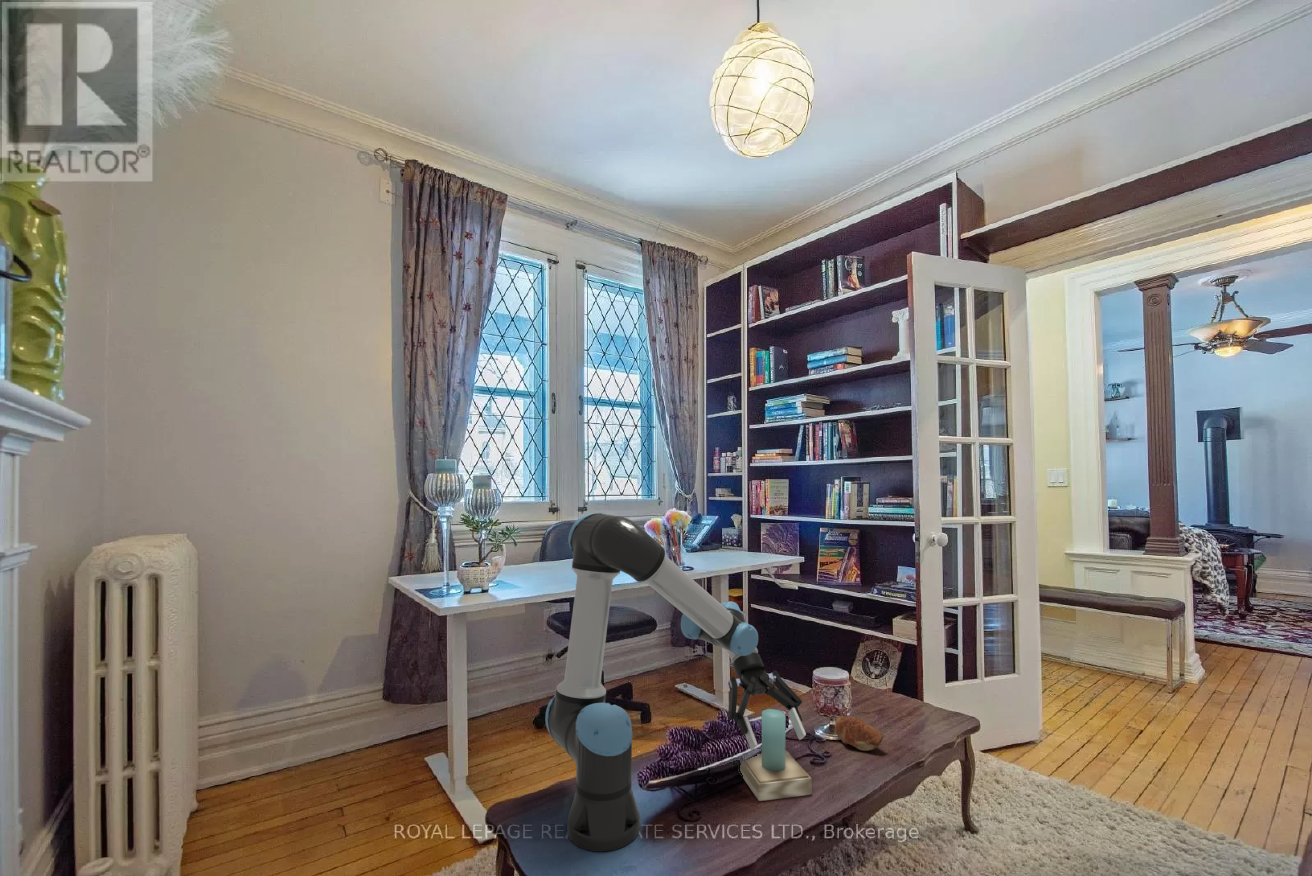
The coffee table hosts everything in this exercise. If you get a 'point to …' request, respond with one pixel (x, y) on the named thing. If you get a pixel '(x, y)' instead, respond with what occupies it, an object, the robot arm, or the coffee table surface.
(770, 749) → the teal pillar
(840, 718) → the bread roll
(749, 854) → the coffee table surface
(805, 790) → the block
